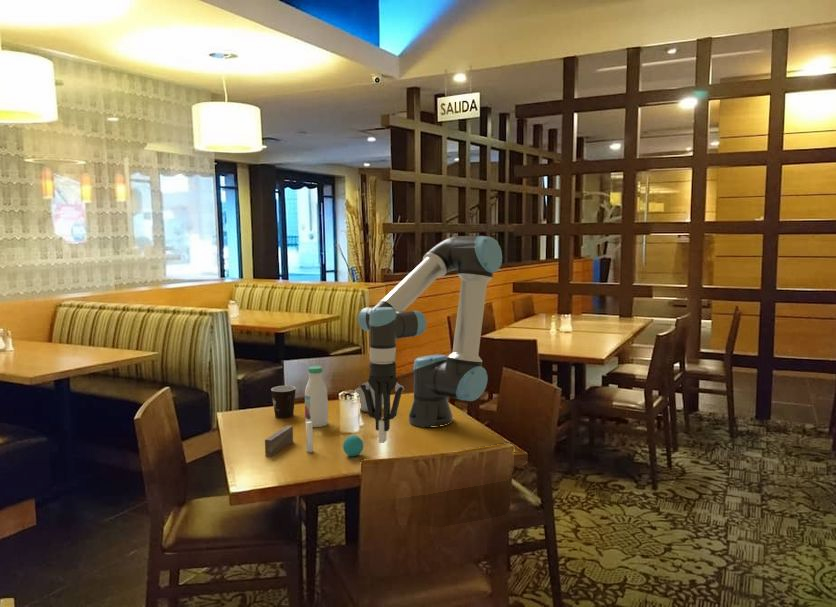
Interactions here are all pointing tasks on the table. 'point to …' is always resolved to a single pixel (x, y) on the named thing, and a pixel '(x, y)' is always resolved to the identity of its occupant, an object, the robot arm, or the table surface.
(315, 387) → the milk bottle
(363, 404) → the teacup
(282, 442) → the back wall
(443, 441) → the table surface
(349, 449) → the ball
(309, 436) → the pin
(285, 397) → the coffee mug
